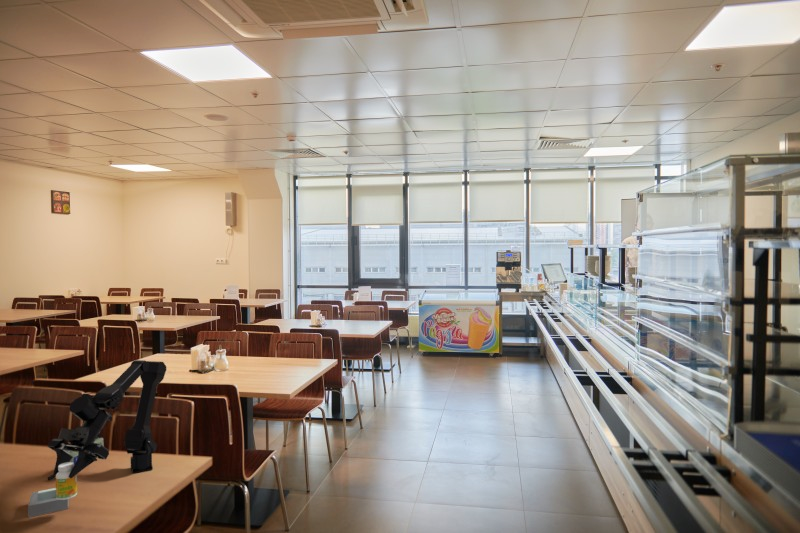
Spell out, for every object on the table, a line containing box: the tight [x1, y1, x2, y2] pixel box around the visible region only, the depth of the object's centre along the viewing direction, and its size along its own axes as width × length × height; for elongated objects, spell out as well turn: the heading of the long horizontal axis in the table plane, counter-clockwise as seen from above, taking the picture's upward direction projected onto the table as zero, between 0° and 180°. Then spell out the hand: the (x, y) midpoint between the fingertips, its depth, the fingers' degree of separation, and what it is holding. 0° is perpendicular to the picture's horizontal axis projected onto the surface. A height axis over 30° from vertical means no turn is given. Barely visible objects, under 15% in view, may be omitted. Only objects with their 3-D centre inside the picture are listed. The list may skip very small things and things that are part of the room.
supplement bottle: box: [55, 462, 78, 500], centre depth 155 cm, size 5×5×10 cm
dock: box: [27, 487, 70, 518], centre depth 161 cm, size 10×10×4 cm
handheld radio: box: [46, 437, 105, 481], centre depth 190 cm, size 7×3×25 cm
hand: (62, 476), depth 154 cm, fingers closed on supplement bottle, 5 cm apart
